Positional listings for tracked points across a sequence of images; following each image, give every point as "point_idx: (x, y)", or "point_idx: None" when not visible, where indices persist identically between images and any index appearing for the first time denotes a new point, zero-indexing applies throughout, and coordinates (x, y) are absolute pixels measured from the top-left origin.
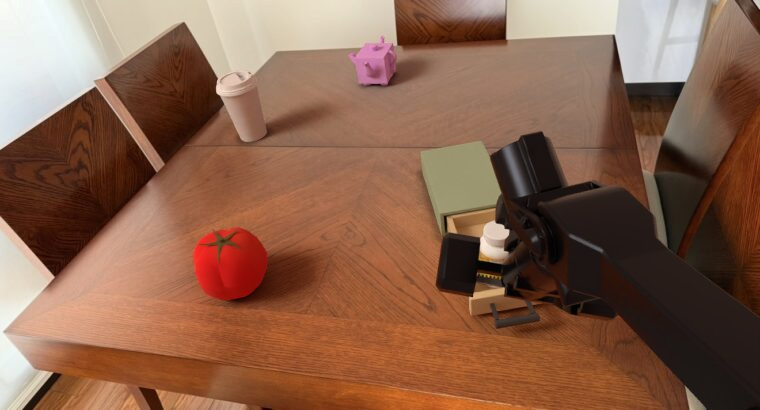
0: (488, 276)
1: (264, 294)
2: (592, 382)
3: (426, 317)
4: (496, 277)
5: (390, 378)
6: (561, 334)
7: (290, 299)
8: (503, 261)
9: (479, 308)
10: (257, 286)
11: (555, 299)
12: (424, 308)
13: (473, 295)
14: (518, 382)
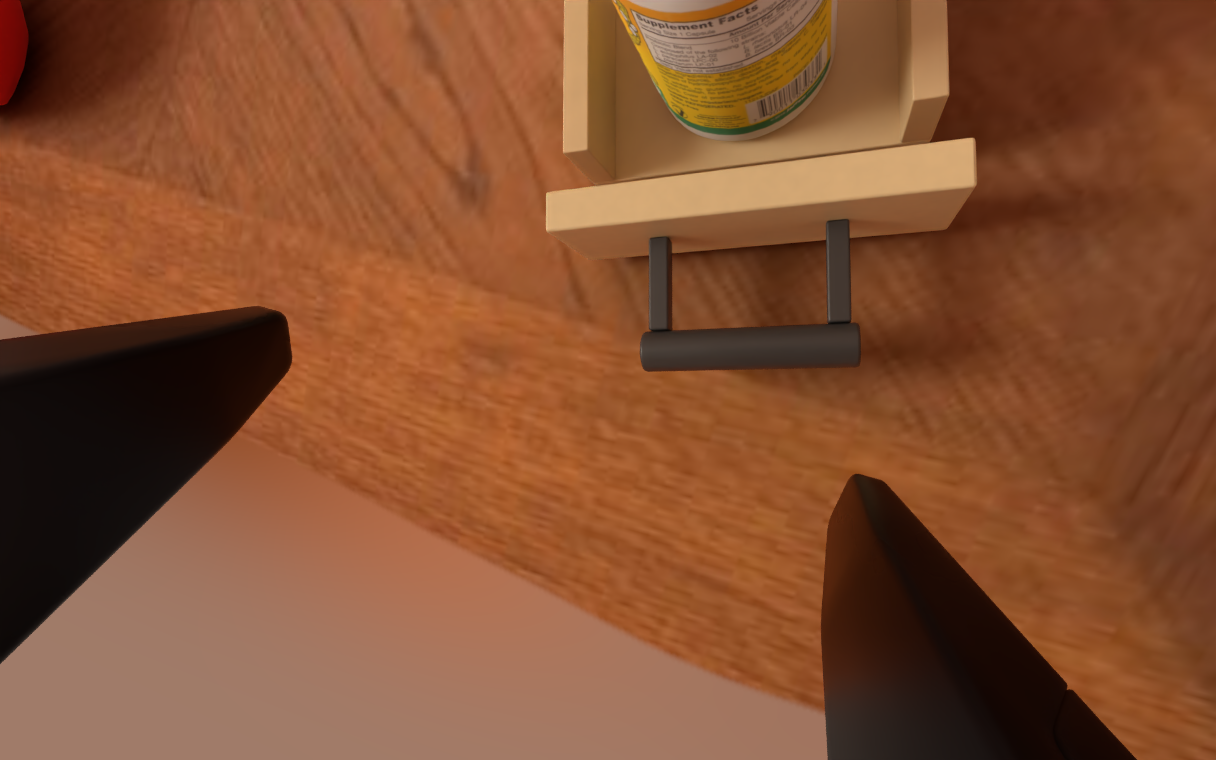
0: (662, 89)
1: (56, 94)
2: None
3: (449, 234)
4: (697, 101)
5: (313, 455)
6: (957, 403)
7: (108, 118)
8: (711, 25)
9: (609, 247)
10: (2, 74)
11: (851, 757)
12: (450, 192)
13: (562, 206)
14: (693, 580)
